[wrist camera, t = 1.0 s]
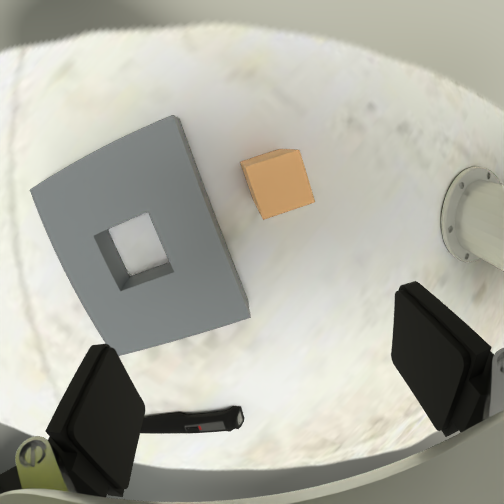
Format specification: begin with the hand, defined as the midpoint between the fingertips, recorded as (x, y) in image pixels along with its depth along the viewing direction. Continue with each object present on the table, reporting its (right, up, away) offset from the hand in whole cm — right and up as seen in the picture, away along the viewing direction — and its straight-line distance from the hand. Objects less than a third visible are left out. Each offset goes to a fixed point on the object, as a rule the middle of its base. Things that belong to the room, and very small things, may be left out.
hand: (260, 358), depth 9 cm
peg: (+1, +11, +20) cm, 22 cm away
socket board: (-11, +4, +21) cm, 24 cm away
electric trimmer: (-9, -20, +30) cm, 38 cm away
